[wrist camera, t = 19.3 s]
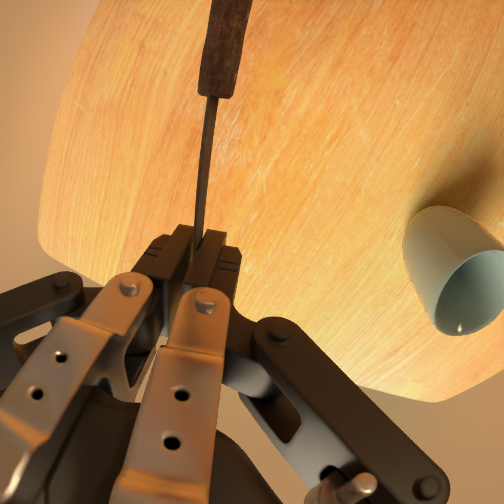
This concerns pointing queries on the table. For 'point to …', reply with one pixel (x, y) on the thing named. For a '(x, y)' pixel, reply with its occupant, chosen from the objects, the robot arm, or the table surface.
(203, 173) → the knife
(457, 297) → the cup
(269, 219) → the table surface
